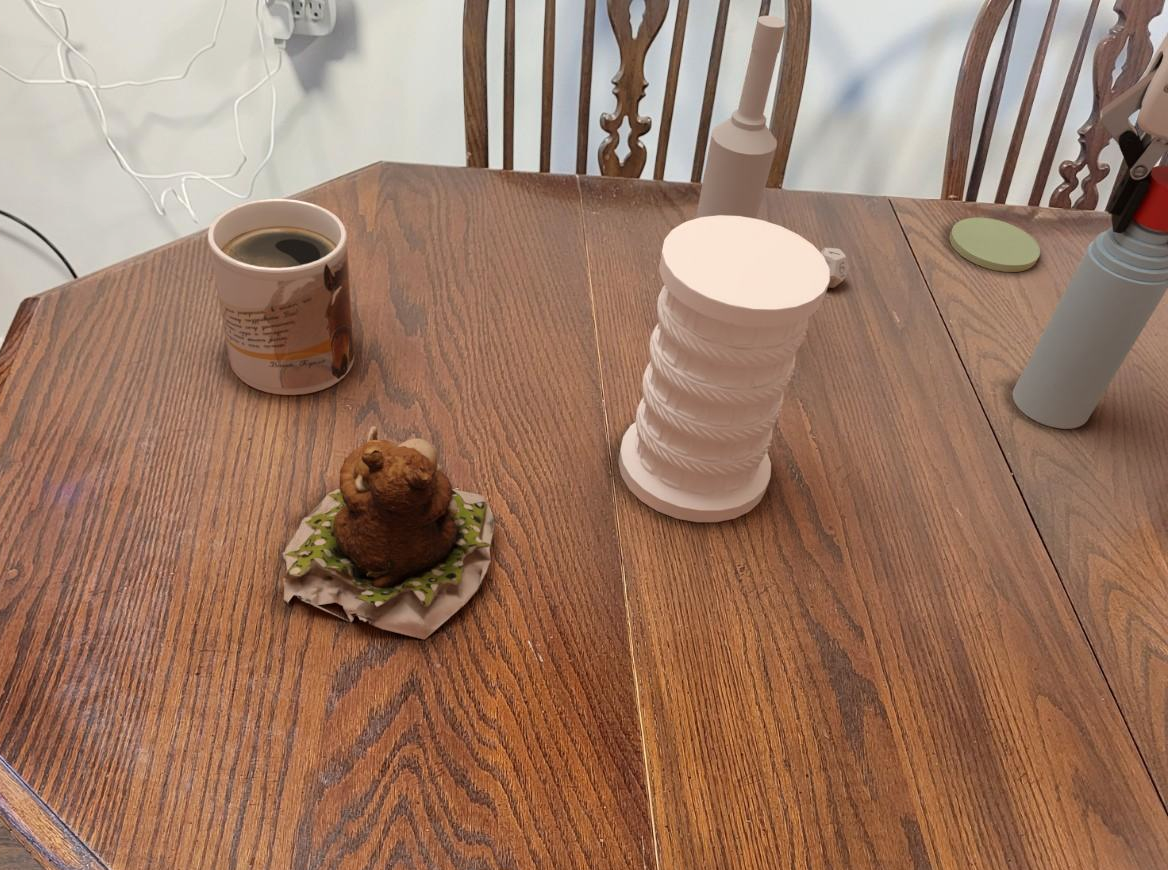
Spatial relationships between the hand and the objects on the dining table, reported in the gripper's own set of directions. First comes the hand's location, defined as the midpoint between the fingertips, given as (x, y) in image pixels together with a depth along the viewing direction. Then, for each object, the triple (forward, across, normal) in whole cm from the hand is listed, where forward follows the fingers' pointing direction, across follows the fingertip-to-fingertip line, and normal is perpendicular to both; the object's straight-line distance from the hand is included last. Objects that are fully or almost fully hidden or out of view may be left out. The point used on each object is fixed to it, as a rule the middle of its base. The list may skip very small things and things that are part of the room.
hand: (1148, 229), depth 78 cm
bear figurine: (+17, +45, +37) cm, 61 cm away
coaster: (+16, +5, -25) cm, 30 cm away
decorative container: (+17, +27, +20) cm, 38 cm away
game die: (+17, +21, -11) cm, 29 cm away
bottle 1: (+17, +31, +1) cm, 35 cm away
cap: (-1, 0, 0) cm, 1 cm away
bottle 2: (+16, 0, 0) cm, 16 cm away
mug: (+17, +60, +19) cm, 66 cm away
